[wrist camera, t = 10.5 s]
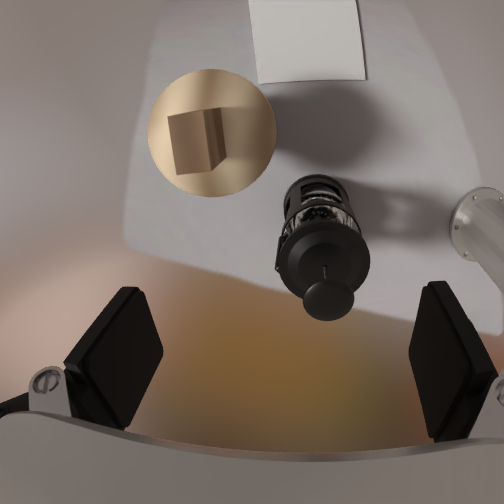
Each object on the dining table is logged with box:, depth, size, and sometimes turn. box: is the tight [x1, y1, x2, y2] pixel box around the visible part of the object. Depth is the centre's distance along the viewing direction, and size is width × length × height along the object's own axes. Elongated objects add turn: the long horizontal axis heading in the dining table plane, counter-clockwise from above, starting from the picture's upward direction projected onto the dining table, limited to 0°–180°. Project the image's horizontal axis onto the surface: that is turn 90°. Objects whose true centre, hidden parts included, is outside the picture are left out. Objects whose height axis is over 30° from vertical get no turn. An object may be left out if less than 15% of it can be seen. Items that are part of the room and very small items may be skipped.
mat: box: [248, 0, 365, 84], centre depth 34 cm, size 14×14×1 cm
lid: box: [148, 69, 277, 197], centre depth 28 cm, size 13×13×7 cm
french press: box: [275, 174, 370, 321], centre depth 35 cm, size 12×9×23 cm
